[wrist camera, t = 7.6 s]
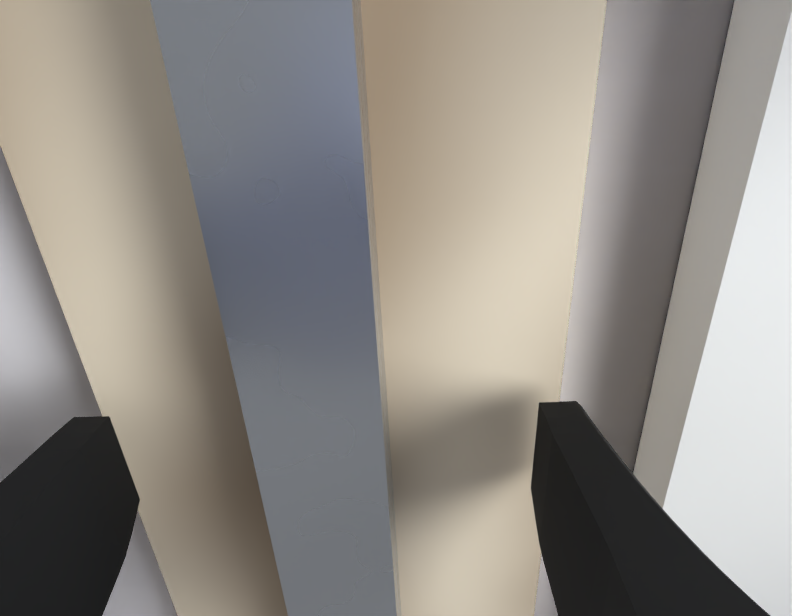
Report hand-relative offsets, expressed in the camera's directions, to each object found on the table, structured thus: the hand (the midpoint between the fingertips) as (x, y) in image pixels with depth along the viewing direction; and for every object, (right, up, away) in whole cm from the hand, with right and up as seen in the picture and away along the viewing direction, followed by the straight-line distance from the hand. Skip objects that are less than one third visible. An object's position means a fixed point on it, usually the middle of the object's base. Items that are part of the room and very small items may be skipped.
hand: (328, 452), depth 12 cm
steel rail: (0, 0, 0) cm, 1 cm away
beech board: (0, +1, +1) cm, 2 cm away
